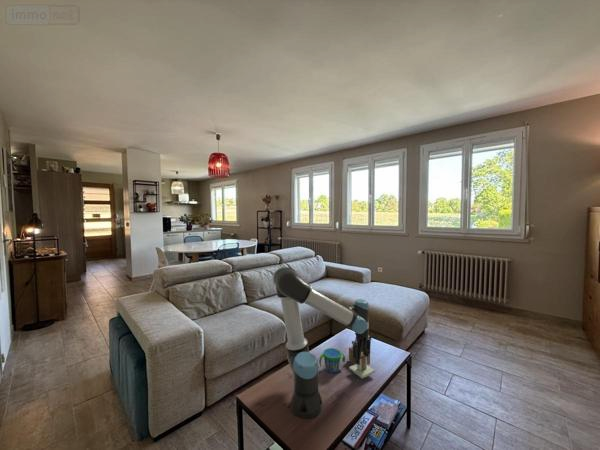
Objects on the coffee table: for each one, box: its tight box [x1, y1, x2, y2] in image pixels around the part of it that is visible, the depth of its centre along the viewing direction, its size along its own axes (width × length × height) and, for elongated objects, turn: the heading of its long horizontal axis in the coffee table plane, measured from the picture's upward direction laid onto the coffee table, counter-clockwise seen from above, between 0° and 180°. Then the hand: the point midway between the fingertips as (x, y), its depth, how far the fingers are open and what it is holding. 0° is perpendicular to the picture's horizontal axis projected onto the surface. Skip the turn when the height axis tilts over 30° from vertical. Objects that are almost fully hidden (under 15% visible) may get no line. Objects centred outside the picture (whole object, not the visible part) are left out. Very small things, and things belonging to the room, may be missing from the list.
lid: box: [348, 355, 376, 379], centre depth 142 cm, size 10×10×8 cm
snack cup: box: [318, 347, 346, 374], centre depth 148 cm, size 16×10×10 cm
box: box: [348, 345, 371, 365], centre depth 155 cm, size 9×9×8 cm
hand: (361, 367), depth 143 cm, fingers closed on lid, 3 cm apart
